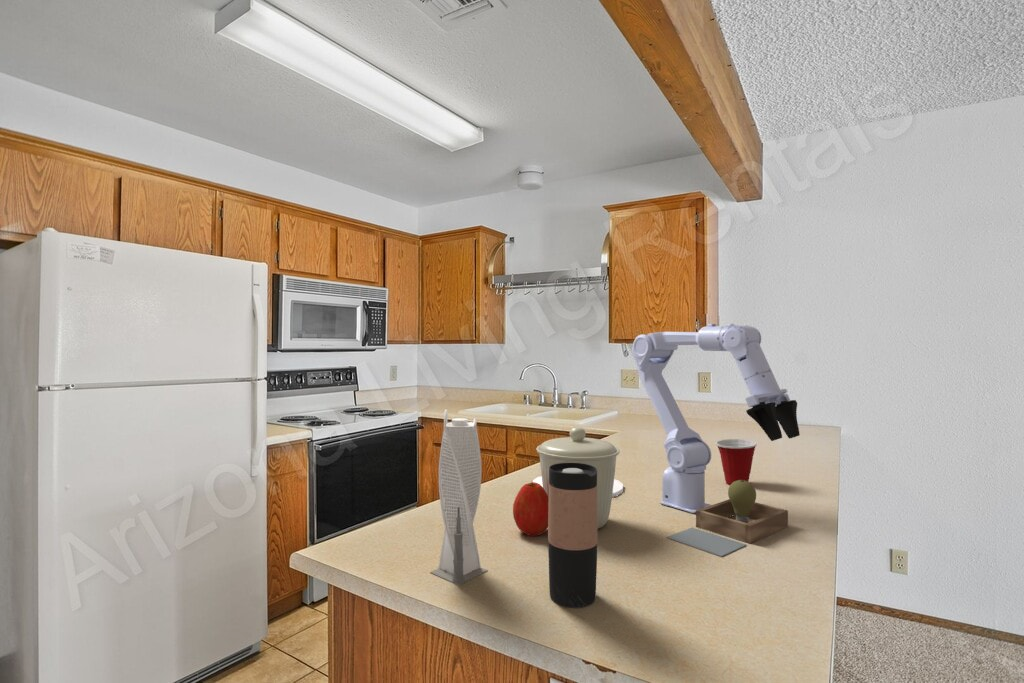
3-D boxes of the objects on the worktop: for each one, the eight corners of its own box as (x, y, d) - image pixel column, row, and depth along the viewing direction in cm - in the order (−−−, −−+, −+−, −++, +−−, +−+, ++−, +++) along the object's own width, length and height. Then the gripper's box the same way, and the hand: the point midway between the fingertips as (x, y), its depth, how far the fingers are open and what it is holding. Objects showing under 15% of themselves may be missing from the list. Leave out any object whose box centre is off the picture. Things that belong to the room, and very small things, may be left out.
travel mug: (544, 585, 84) (544, 462, 84) (590, 584, 85) (591, 461, 85) (552, 609, 77) (552, 474, 77) (603, 607, 77) (603, 473, 77)
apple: (520, 523, 114) (520, 474, 114) (556, 527, 111) (556, 477, 111) (507, 536, 106) (507, 484, 106) (546, 541, 103) (546, 487, 103)
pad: (666, 537, 106) (666, 536, 106) (692, 528, 111) (692, 527, 111) (721, 557, 96) (721, 555, 96) (746, 545, 102) (746, 544, 102)
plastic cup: (707, 480, 151) (707, 438, 151) (739, 478, 153) (739, 437, 153) (731, 490, 140) (731, 445, 140) (765, 487, 143) (765, 444, 143)
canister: (624, 515, 119) (624, 423, 119) (613, 543, 102) (613, 436, 102) (548, 507, 125) (548, 419, 125) (525, 532, 108) (525, 431, 108)
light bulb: (759, 532, 109) (759, 484, 109) (731, 530, 110) (731, 483, 110) (752, 523, 114) (752, 477, 114) (725, 521, 115) (725, 476, 115)
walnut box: (696, 526, 112) (696, 510, 112) (735, 512, 122) (735, 497, 122) (750, 543, 102) (750, 526, 102) (787, 526, 112) (787, 510, 112)
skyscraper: (424, 572, 90) (425, 410, 90) (458, 557, 96) (458, 406, 96) (458, 587, 85) (459, 415, 85) (492, 570, 91) (492, 410, 91)
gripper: (758, 368, 104) (787, 434, 99) (791, 369, 112) (820, 429, 107) (727, 382, 109) (754, 445, 104) (762, 382, 117) (788, 440, 112)
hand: (785, 438), depth 106 cm, fingers open, 7 cm apart
